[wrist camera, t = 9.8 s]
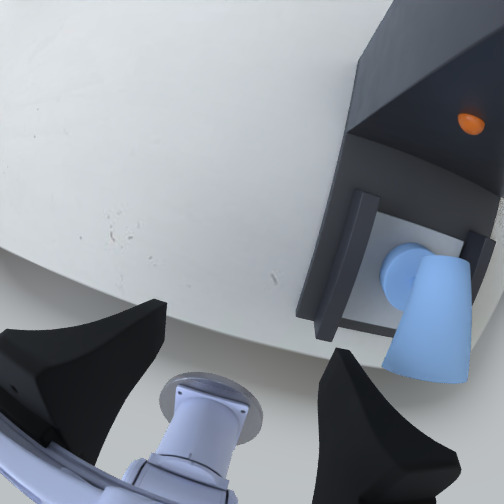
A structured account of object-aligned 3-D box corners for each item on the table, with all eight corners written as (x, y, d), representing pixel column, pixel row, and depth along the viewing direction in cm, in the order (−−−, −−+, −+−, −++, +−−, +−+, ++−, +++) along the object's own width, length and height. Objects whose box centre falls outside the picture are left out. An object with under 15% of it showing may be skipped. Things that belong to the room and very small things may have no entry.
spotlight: (421, 326, 19) (448, 239, 17) (463, 416, 10) (527, 290, 8) (363, 317, 20) (387, 225, 18) (380, 413, 11) (441, 269, 9)
